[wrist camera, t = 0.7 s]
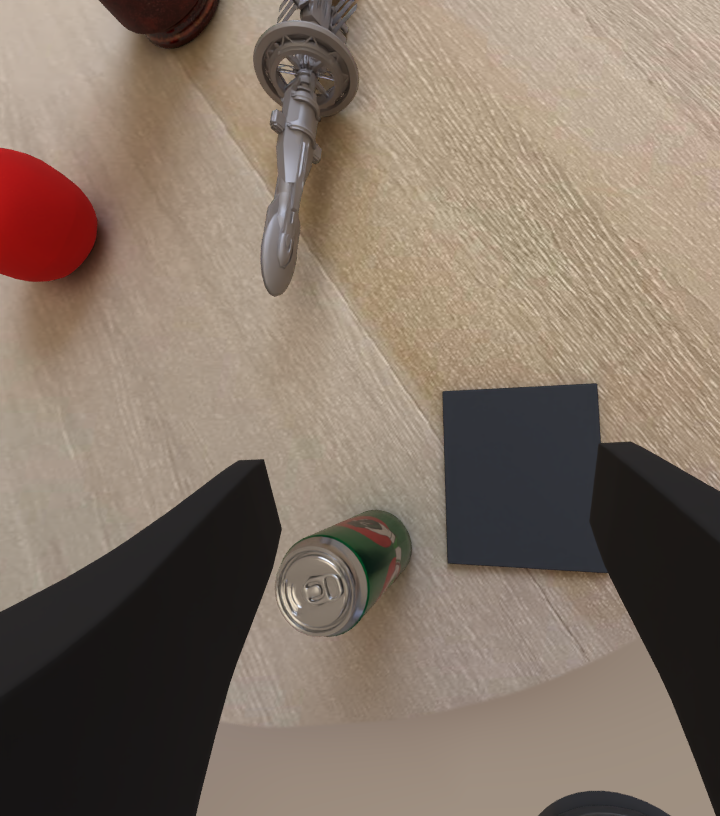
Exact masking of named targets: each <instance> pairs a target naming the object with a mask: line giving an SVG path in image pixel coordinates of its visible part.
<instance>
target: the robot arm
mask: <svg viewBox="0 0 720 816" xmlns="http://www.w3.org/2000/svg"><path fill="white" fill-rule="evenodd" d="M589 522H590V525H591V528H592V531H593V534H594V537H595V540H596V543H597V546H598V549H599V552H600V554H601V557H602V560H603V563H604V565H605V568H606V570H607V572H608V574H609V576H610V578H611V580H612V582H613V584H614V586H615V588H616V590H617V592H618V594H619V596H620V598H621V600H622V602H623V604H624V606H625V608H626V609H627V611H628V613H629V615H630V617H631V619H632V621H633V623H634V625H635V627H636V629H637V631H638V633H639V635H640V637H641V639H642V641H643V643H644V645H645V646H646V649H647V651H648V652H649V654H650V656H651V658H652V660H653V662H654V664H655V666H656V668H657V670H658V672H659V674H660V676H661V679H662V681H663V683H664V685H665V687H666V689H667V692H668V693H669V696H670V698H671V700H672V703H673V705H674V708H675V710H676V713H677V715H678V718H679V720H680V723H681V725H682V728H683V731H684V733H685V736H686V738H687V741H688V743H689V746H690V748H691V751H692V753H693V756H694V758H695V761H696V763H697V766H698V769H699V771H700V774H701V777H702V779H703V782H704V785H705V788H706V790H707V793H708V796H709V798H710V801H711V804H712V806H713V809H714V812H715V814H716V816H720V491H718V490H716V489H714V488H713V487H711V486H709V485H707V484H706V483H704V482H702V481H700V480H699V479H697V478H695V477H693V476H692V475H690V474H688V473H686V472H685V471H683V470H681V469H680V468H678V467H676V466H674V465H673V464H671V463H669V462H667V461H666V460H664V459H662V458H661V457H659V456H657V455H655V454H653V453H652V452H650V451H648V450H646V449H644V448H643V447H641V446H639V445H637V444H635V443H632V442H614V443H599V445H598V453H597V461H596V470H595V478H594V486H593V495H592V503H591V511H590V520H589ZM281 530H282V528H281V524H280V520H279V516H278V512H277V509H276V505H275V501H274V497H273V493H272V489H271V485H270V481H269V478H268V474H267V470H266V466H265V462H264V459H260V460H239V461H237V462H236V463H234V464H232V465H231V466H229V467H228V468H226V469H225V470H224V471H222V472H221V473H220V474H218V475H217V476H215V477H214V478H213V479H211V480H210V481H209V482H207V483H206V484H205V485H204V486H202V487H201V488H200V489H198V490H197V491H196V492H194V493H193V494H192V495H190V496H189V497H188V498H186V499H185V500H184V501H182V502H181V503H180V504H178V505H177V506H176V507H174V508H173V509H172V510H170V511H169V512H168V513H166V514H165V515H163V516H162V517H160V518H159V519H158V520H156V521H155V522H153V523H152V524H150V525H149V526H147V527H146V528H145V529H143V530H142V531H140V532H139V533H137V534H136V535H135V536H133V537H132V538H130V539H129V540H127V541H126V542H124V543H123V544H121V545H120V546H118V547H117V548H115V549H114V550H112V551H110V552H109V553H107V554H106V555H104V556H102V557H101V558H99V559H97V560H96V561H94V562H92V563H91V564H89V565H87V566H86V567H84V568H82V569H81V570H79V571H77V572H75V573H74V574H72V575H70V576H68V577H67V578H65V579H63V580H61V581H59V582H57V583H56V584H54V585H52V586H50V587H48V588H46V589H44V590H42V591H40V592H38V593H36V594H34V595H32V596H31V597H29V598H27V599H25V600H23V601H21V602H19V603H17V604H15V605H13V606H11V607H9V608H8V609H5V610H3V611H1V612H0V816H196V813H197V808H198V804H199V799H200V795H201V791H202V787H203V783H204V779H205V775H206V771H207V767H208V763H209V759H210V755H211V751H212V747H213V743H214V739H215V735H216V732H217V728H218V724H219V721H220V717H221V714H222V710H223V706H224V703H225V699H226V695H227V692H228V688H229V685H230V682H231V679H232V676H233V673H234V670H235V667H236V664H237V661H238V659H239V656H240V653H241V651H242V648H243V646H244V643H245V640H246V638H247V635H248V632H249V630H250V627H251V625H252V622H253V619H254V617H255V614H256V612H257V609H258V606H259V604H260V601H261V599H262V596H263V593H264V591H265V588H266V585H267V583H268V580H269V577H270V574H271V572H272V569H273V565H274V561H275V557H276V553H277V548H278V544H279V539H280V535H281Z"/></svg>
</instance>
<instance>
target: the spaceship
mask: <svg viewBox="0 0 720 816" xmlns="http://www.w3.org/2000/svg"><path fill="white" fill-rule="evenodd" d="M287 1H288V0H284V1H283V2H282V4H281V5H280V9H279V12H280V10H281V9H282V8H283V6H284V5H285V4H286V2H287ZM345 1H346V0H341V1H340V2H339V3H338V4H337V5H336V6H335V8H334V6H333V7H332V0H290V1H289V3H288V4H287V6H286V7H285V9H284V10H283V12H282V13H281V14H280V16H279V17H278V21H277V23H278V22H279V21H280V20H281V18H282V17H283V16H284V14H285V13H286V12H287V10H288V9H289V8H290V6H291V5H292V4H293V2H294V3H295V4H294V5H293V7H292V8H291V10H290V11H289V12H288V14H287V15H286V17H285V18H284V19H283V21H282V22H281V23H278V24H276V25H274V26H272V27H270V28H269V29H268V30H266V31H265V32H264V33H263V34H262V35H261V37H260V38H259V40H258V41H257V43H256V46H255V49H254V55H253V62H254V68H255V72H256V75H257V78H258V80H259V82H260V84H261V86H262V87H263V89H264V90H265V91H266V93H267V94H268V95H269V96H270V97H271V98H272V99H273V100H274V101H275V102H276V103H278V104H279V105H280V106H282V107H283V108H282V112H281V111H279V110H277V109H276V110H274V111H272V113H271V120H270V126H271V129H272V130H274V131H275V132H276V133H277V134H278V140H277V146H276V149H277V166H278V178H277V184H276V190H275V196H274V199H273V201H272V202H271V204H270V205H269V206H268V210H267V215H266V221H265V227H264V234H263V239H262V244H261V271H262V277H263V281H264V285H265V287H266V289H267V291H268V292H269V294H270V295H272V296H279V295H281V294H283V292H284V291H285V290H286V289H287V287H288V285H289V283H290V281H291V279H292V276H293V273H294V269H295V265H296V260H297V249H298V242H299V235H300V221H299V215H298V213H299V207H300V201H301V196H302V192H303V186H304V184H305V181H306V179H307V177H308V174H309V172H310V169H311V167H312V163H313V164H317V163H319V162H320V160H321V152H322V149H321V148H320V147H319V146H318V144H317V143H316V140H315V139H316V132H317V125H318V122H320V121H319V119H320V120H321V117H326V116H330V115H334V114H336V113H338V112H340V111H342V110H343V109H344V108H346V107H347V106H348V105H349V104H350V102H351V101H352V100H353V98H354V97H355V95H356V92H357V89H358V84H359V73H358V68H357V65H356V62H355V60H354V57H353V56H352V54H351V52H350V50H349V49H348V47H347V46H346V45H345V44H346V40H347V39H346V38H345V36H344V35H343V34H342V32H341V31H340V30H339V29H341V30H342V31H343V32H344V33H345V34H346V32H348V27H347V25H346V24H345V22H346V21H347V20H348V19H349V17H350V16H351V15H352V14H353V13H354V11H355V10H356V8H357V4H356V5H355V6H354V7H353V8H352V9H351V10H350V11H349V12H348V13H347V14H346V16H345V17H344V18H343V19H341V16H342V15H343V14H344V13H345V12H346V10H347V9H348V8H349V7H350V6H351V4H352V3H353V2H354V1H355V0H350V1H349V2H348V3H347V4H346V5H345V6H344V7H343V8H342V10H341V11H340V12H339V13H337V11H338V10H339V9H340V8H341V6H342V5H343V4H344V3H345ZM296 8H297V9H298V8H299V9H300V10H301V12H300V17H301V21H300V20H291V21H287V20H288V19H289V17H290V16H291V15H292V14H293V12H294V11H295V10H296ZM336 24H337V25H336ZM344 43H345V44H344ZM293 55H295V57H294V56H293ZM284 58H287V59H288V60H289V61H290V62H291V63H292V64H293V65H294V66H289V65H283V64H279V63H280V62H281V61H282V60H283V59H284ZM278 65H283V66H289V67H291V68H292V67H295V69H294V68H293V71H290V70H285V69H281V68H280V67H283V66H279V67H278ZM265 68H266V69H265ZM279 68H280V69H279ZM278 69H279V70H278ZM327 69H329V70H330V72H329V71H327ZM283 71H284V72H283ZM285 71H290V72H293V73H290V72H285ZM280 72H281V73H287V74H293V75H295V77H296V78H294V79H293V80H292V81H291V82H290V83H289V84H287V83H286V82H285V80H284V78H283V77H282V75H281V74H280ZM295 72H296V74H295ZM318 72H319V73H318ZM326 72H328V73H329V74H330V73H332V74H331V75H332V76H333V77H331V76H326V75H324V74H325V73H326ZM320 73H321V74H320ZM267 74H268V75H267ZM322 74H323V75H322ZM320 75H322V76H326V77H330V78H325V77H322V76H320ZM318 77H320V78H324V79H328V80H331V81H334V82H335V85H334V86H333V87H332V88H330V89H329V90H327V91H326V90H325V89H324V87H323V86H322V85H321V84H320V82H319V80H317V78H318ZM320 78H319V79H320ZM331 78H334V80H333V79H331ZM269 79H270V80H269ZM281 79H282V80H281ZM271 82H272V83H271ZM273 85H274V86H273ZM315 88H316V89H317V90H318V91H319V92H320V93H321V94H315ZM346 91H347V92H346ZM328 92H329V93H328ZM343 93H344V94H343ZM316 96H319V97H316ZM341 96H342V97H341ZM337 100H338V101H337ZM319 117H320V118H319Z"/></svg>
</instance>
